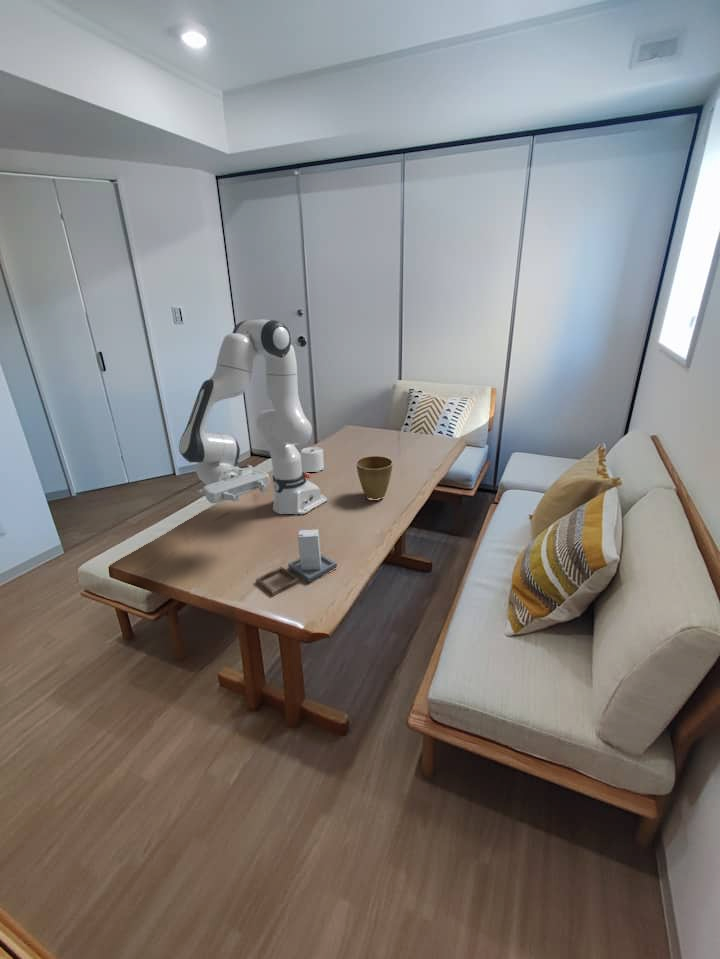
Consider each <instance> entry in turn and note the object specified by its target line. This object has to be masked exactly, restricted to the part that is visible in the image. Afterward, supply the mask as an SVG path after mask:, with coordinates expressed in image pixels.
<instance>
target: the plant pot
mask: <svg viewBox="0 0 720 959" xmlns="http://www.w3.org/2000/svg"><path fill="white" fill-rule="evenodd" d="M355 465H356V470H357V476H358V478H359V479H358V480H359V482H360V486H361V488H362V492H363V493H364V496H365V498H366V497H368V498H372V499H378V498H382V497H384V498H385V495H386V493H387V490H388V487H389V484H390V481H391V475H392V470H393V460H392V459H391V458H390V457H387V456H380V455H370V456H364V457H361V458H359V459H357V461H356V462H355Z"/></svg>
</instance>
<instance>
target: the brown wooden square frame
mask: <svg viewBox="0 0 720 959" xmlns="http://www.w3.org/2000/svg"><path fill="white" fill-rule="evenodd" d="M279 573H282V574H283V575H285V576H286V577H288V579H289V578H290V580H291V581H289V582H287V583H285V584H283V585H281V586H279V587H278V588H275V589H273V588H272V587H271V586H269V585H268V584H266V583H265V582H264V581H267V579H270V578H272V577H274V576H276V575H277V574H279ZM255 583H256V584H258V585H259V586H260V587H261V588H262V589H264V591H266V592H267V593H269V594H270V595H271V596H272V597H275V596H277V595H279V594H280V593H282V592H284V591H286V590H288V589H289V588H291V587H293V586H296V585H297V584H300V577H299V578H298V577H297V575H294V574H293V572H292V573H291V572H290V570H288V569H286V568H285V567H283V566H279V567H277V568H276V569H273V570H271V571H270V572H268V573H265V574H263V575H261V576H258V577H257V578H256V579H255Z"/></svg>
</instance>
